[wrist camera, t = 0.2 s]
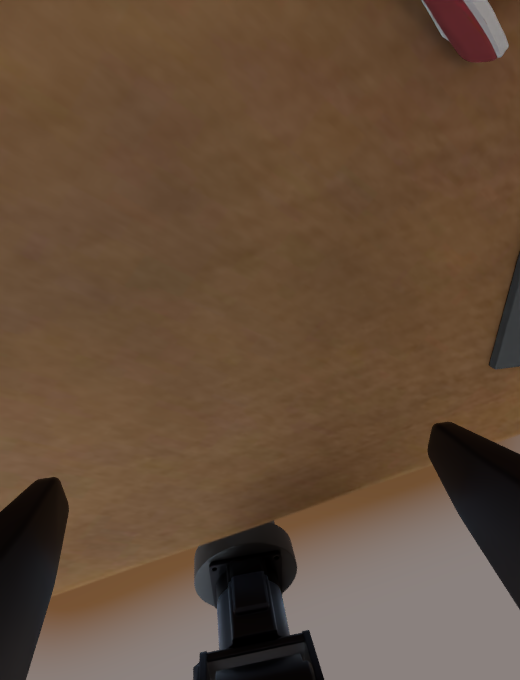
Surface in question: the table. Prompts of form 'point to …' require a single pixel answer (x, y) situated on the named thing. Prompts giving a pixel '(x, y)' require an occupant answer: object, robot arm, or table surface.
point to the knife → (469, 28)
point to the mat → (509, 328)
